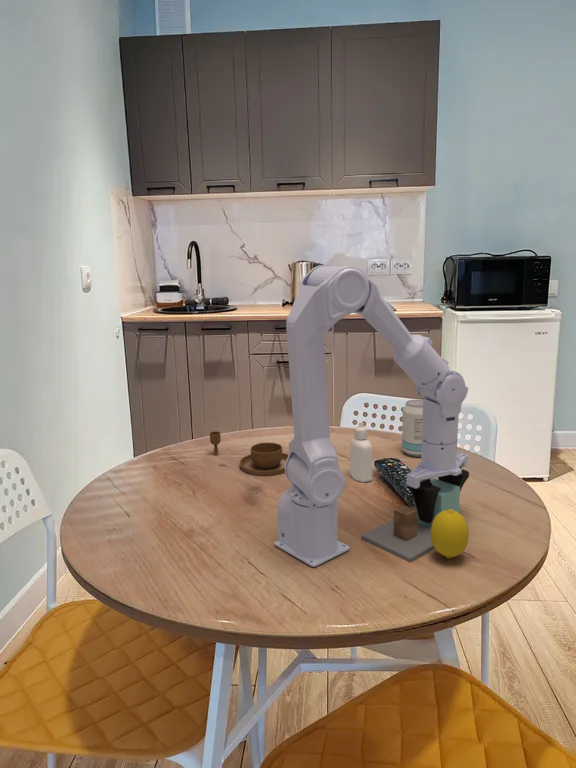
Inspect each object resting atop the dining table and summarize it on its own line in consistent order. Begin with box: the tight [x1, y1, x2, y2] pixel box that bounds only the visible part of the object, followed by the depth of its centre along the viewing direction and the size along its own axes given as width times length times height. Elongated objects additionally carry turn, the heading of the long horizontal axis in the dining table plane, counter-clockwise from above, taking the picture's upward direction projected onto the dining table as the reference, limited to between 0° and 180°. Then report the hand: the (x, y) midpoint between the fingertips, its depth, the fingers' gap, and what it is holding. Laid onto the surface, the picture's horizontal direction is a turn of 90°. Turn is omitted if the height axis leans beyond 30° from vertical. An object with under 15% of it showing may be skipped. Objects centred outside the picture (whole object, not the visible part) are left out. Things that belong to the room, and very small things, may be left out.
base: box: [360, 518, 435, 563], centre depth 94 cm, size 10×10×1 cm
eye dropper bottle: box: [349, 421, 373, 483], centre depth 118 cm, size 4×6×12 cm
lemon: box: [431, 509, 470, 559], centre depth 87 cm, size 6×6×8 cm
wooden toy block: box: [393, 505, 417, 541], centre depth 93 cm, size 3×3×4 cm
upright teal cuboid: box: [414, 477, 461, 529], centre depth 99 cm, size 5×5×7 cm
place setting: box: [209, 431, 289, 477], centre depth 130 cm, size 18×20×6 cm
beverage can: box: [401, 399, 423, 458], centre depth 132 cm, size 7×7×12 cm
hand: (436, 515), depth 99 cm, fingers open, 6 cm apart
